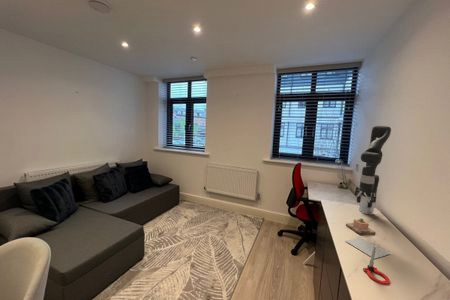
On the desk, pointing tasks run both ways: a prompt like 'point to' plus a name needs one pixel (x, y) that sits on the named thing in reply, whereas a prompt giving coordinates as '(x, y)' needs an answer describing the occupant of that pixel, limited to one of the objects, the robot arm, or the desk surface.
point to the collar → (360, 224)
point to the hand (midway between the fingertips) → (363, 204)
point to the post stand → (360, 232)
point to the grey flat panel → (367, 247)
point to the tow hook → (375, 270)
